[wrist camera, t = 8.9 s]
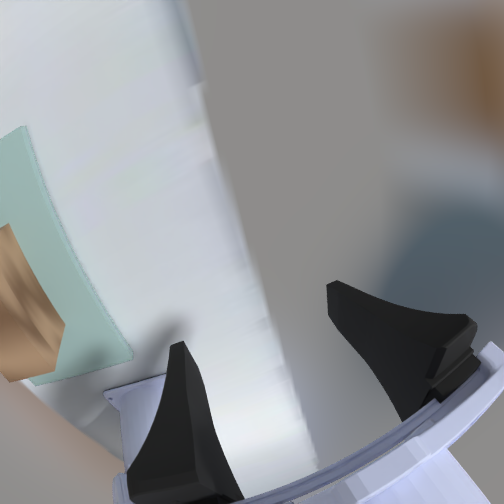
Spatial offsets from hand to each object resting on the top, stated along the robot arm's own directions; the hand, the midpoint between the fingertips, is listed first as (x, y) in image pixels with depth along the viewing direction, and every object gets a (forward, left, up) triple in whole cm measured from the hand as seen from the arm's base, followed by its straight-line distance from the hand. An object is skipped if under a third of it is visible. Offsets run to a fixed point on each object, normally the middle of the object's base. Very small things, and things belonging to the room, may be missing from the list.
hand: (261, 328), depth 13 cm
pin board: (+3, +16, -9) cm, 19 cm away
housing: (+3, +16, -8) cm, 18 cm away
